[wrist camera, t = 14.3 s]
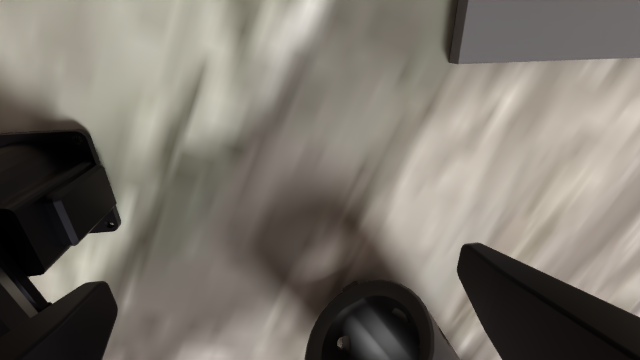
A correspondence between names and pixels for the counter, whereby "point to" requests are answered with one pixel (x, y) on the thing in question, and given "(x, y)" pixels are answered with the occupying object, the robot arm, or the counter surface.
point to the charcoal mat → (545, 30)
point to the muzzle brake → (377, 326)
